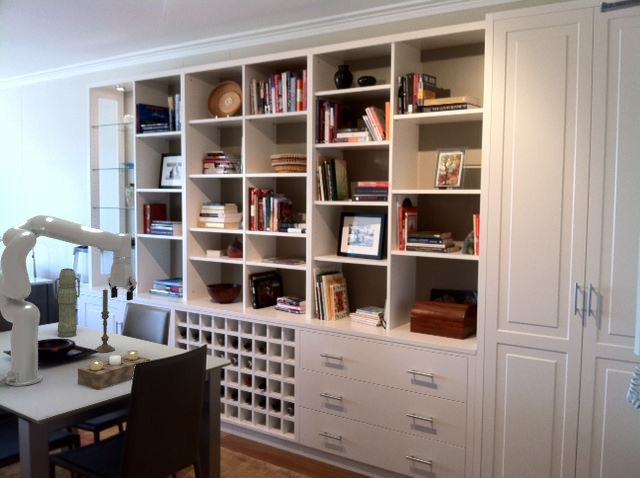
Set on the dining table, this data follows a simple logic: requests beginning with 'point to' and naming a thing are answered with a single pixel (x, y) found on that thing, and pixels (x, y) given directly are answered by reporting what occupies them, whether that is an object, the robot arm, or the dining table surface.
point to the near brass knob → (96, 365)
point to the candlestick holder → (105, 326)
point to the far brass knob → (132, 355)
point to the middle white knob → (115, 360)
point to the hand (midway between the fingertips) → (121, 298)
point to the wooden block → (108, 373)
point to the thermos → (67, 302)
